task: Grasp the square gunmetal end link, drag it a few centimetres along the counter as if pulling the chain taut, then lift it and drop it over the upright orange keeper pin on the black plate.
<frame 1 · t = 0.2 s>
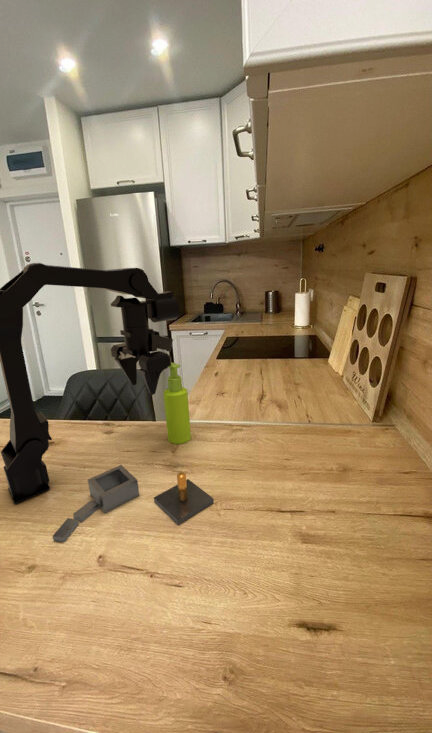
hand: (143, 389, 79), 14 cm above the worktop, fingers open, 9 cm apart
chain link b: (66, 534, 56), on the worktop
keeper: (183, 502, 62), on the worktop
end link: (114, 495, 64), on the worktop
soap dispenser: (178, 438, 85), on the worktop
chain link a: (87, 514, 60), on the worktop
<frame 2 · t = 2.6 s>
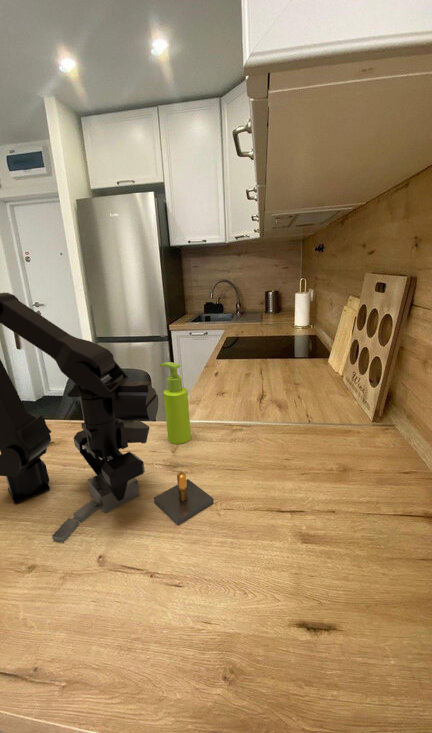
hand: (112, 490, 64), 1 cm above the worktop, fingers closed on end link, 7 cm apart
end link: (114, 495, 64), on the worktop, touching gripper
everything else where it was.
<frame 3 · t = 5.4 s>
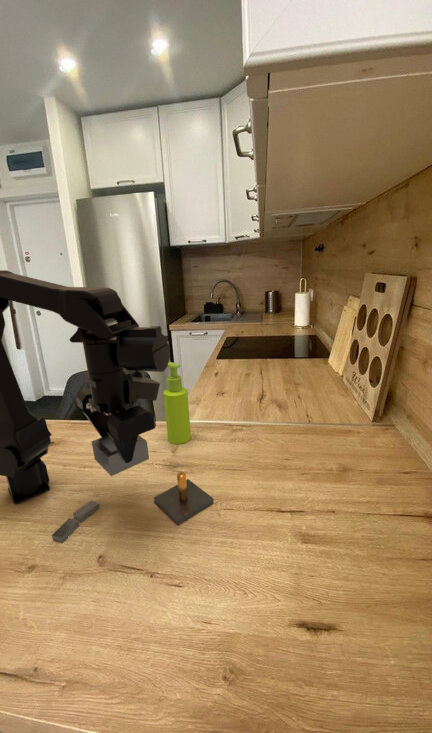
hand: (119, 453, 57), 12 cm above the worktop, fingers closed on end link, 7 cm apart
end link: (121, 459, 58), point 10 cm above the worktop, touching gripper
everything else where it was.
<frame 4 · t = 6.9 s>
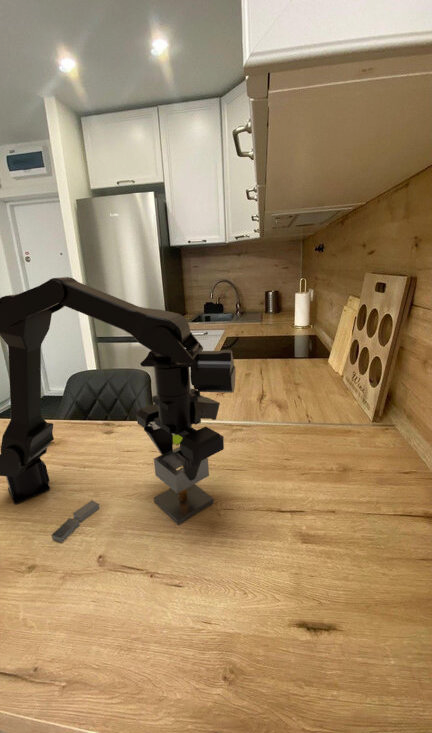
hand: (180, 470, 60), 7 cm above the worktop, fingers closed on end link, 7 cm apart
end link: (182, 475, 60), point 6 cm above the worktop, touching gripper
everything else where it was.
when the fingers open (3 cm above the worktop, at t = 8.1 s): end link drops 1 cm, resting on keeper.
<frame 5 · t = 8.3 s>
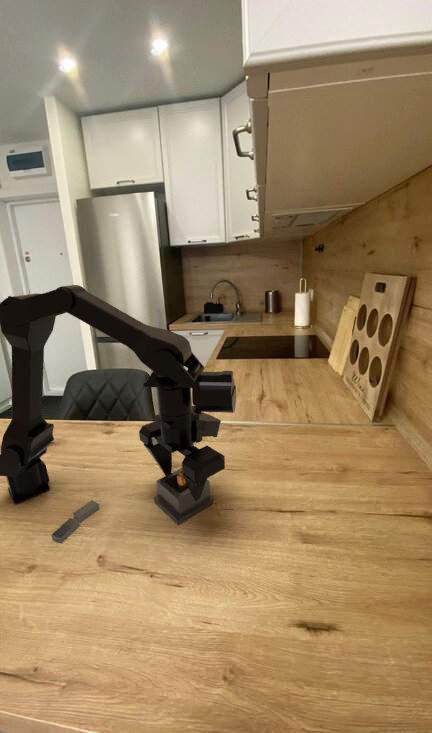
hand: (182, 486, 61), 3 cm above the worktop, fingers open, 9 cm apart
end link: (184, 497, 62), point 1 cm above the worktop, touching keeper
everything else where it was.
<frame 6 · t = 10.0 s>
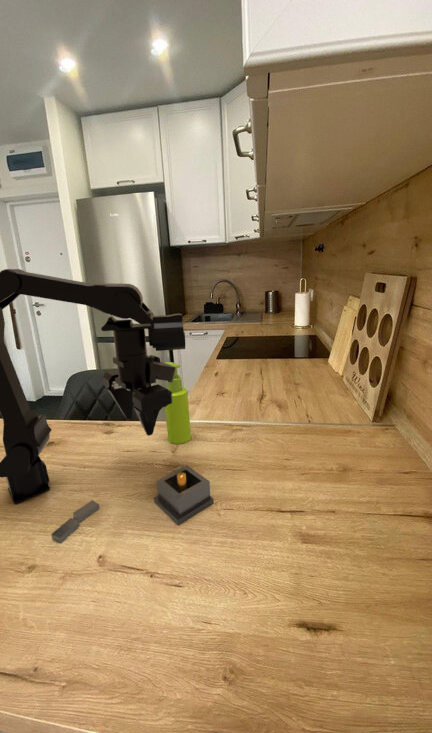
hand: (139, 426, 67), 12 cm above the worktop, fingers open, 9 cm apart
nothing on the worktop moved.
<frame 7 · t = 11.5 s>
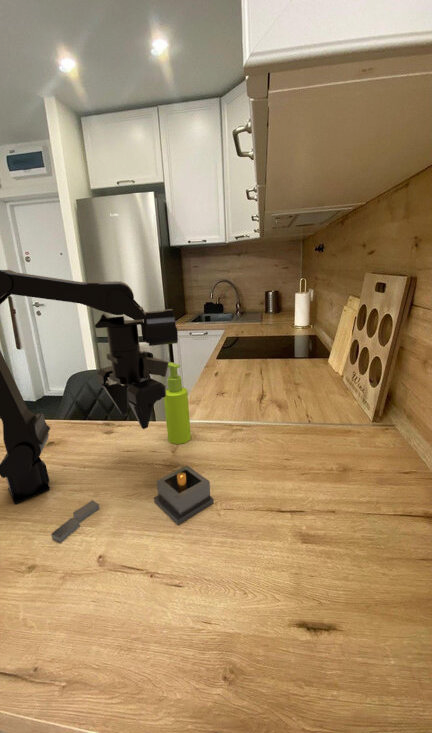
hand: (134, 420, 68), 12 cm above the worktop, fingers open, 9 cm apart
nothing on the worktop moved.
at the end: end link 0.2 cm off-centre on the keeper, point 1.0 cm above the keeper's base; end link tilted 0°; the gripper is holding nothing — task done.
